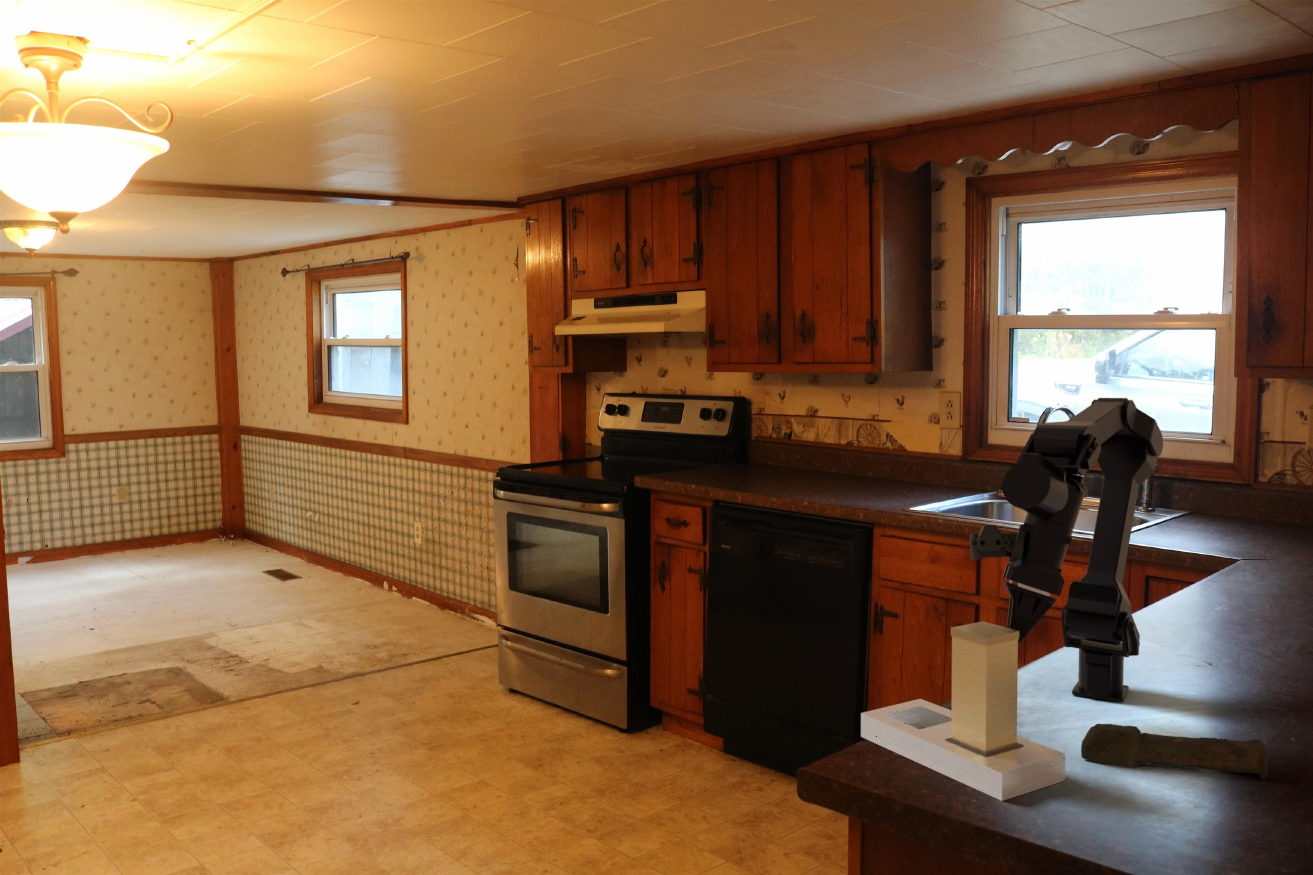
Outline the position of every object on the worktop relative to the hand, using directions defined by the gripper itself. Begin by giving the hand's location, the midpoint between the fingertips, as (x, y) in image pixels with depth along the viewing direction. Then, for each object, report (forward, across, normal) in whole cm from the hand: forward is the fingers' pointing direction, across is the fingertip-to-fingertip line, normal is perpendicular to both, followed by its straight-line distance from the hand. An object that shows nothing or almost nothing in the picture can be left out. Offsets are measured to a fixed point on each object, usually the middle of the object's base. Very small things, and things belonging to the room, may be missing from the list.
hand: (1010, 642), depth 127 cm
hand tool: (+8, +4, +20) cm, 22 cm away
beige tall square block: (+11, +11, 0) cm, 15 cm away
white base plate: (+14, +8, -2) cm, 16 cm away
